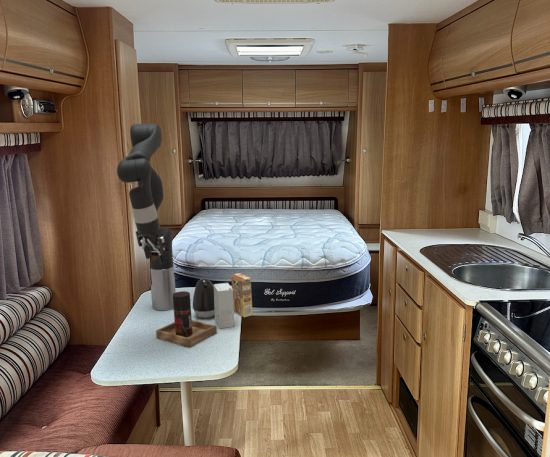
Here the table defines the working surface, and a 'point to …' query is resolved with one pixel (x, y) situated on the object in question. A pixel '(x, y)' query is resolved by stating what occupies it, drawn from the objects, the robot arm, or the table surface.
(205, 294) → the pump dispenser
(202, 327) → the tray
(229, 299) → the skincare box
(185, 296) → the deodorant
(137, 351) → the table surface
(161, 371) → the table surface
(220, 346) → the table surface
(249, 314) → the candy box
